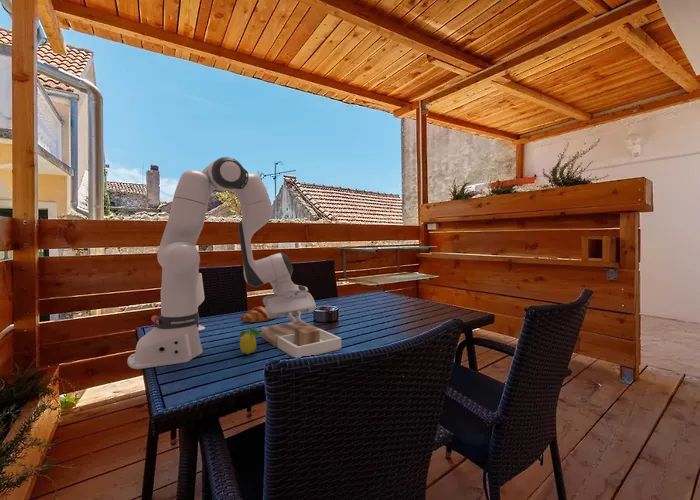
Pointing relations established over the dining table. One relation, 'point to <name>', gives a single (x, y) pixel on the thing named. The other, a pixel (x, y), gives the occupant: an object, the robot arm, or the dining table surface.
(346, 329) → the dining table surface
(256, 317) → the croissant
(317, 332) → the walnut block
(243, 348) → the lemon
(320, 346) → the box
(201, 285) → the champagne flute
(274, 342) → the wooden board
